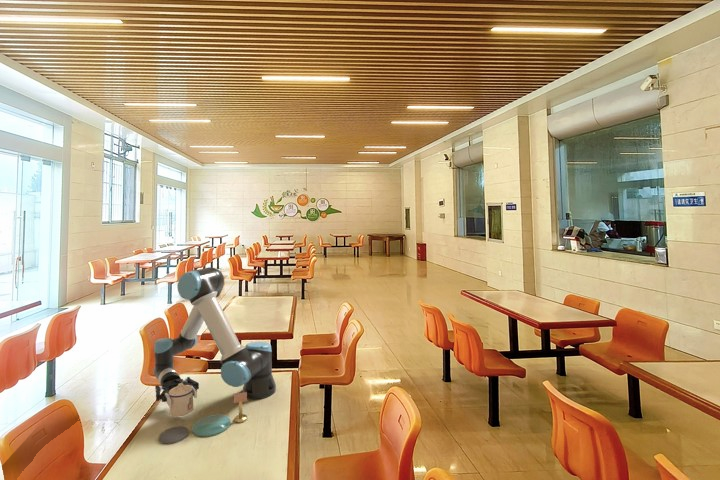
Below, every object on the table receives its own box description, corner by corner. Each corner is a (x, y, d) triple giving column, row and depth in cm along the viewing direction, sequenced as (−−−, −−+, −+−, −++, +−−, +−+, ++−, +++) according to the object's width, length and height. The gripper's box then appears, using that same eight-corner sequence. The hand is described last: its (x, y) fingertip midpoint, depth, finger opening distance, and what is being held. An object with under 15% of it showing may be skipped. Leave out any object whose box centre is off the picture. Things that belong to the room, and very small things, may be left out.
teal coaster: (230, 413, 152) (230, 411, 152) (230, 432, 139) (230, 430, 139) (193, 420, 147) (193, 418, 147) (190, 440, 134) (190, 438, 134)
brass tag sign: (247, 415, 151) (246, 389, 150) (247, 421, 146) (247, 394, 146) (234, 417, 149) (233, 391, 149) (234, 424, 145) (233, 396, 144)
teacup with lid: (193, 415, 146) (191, 386, 145) (167, 419, 142) (166, 390, 142) (195, 400, 157) (194, 374, 156) (171, 404, 154) (170, 378, 153)
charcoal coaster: (190, 426, 143) (190, 424, 143) (187, 440, 134) (187, 438, 134) (161, 431, 140) (161, 429, 140) (156, 446, 131) (156, 444, 131)
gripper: (195, 380, 170) (211, 398, 153) (142, 395, 156) (152, 417, 139) (194, 365, 169) (210, 381, 152) (141, 378, 156) (151, 398, 138)
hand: (183, 398), depth 145 cm, fingers closed on teacup with lid, 9 cm apart
